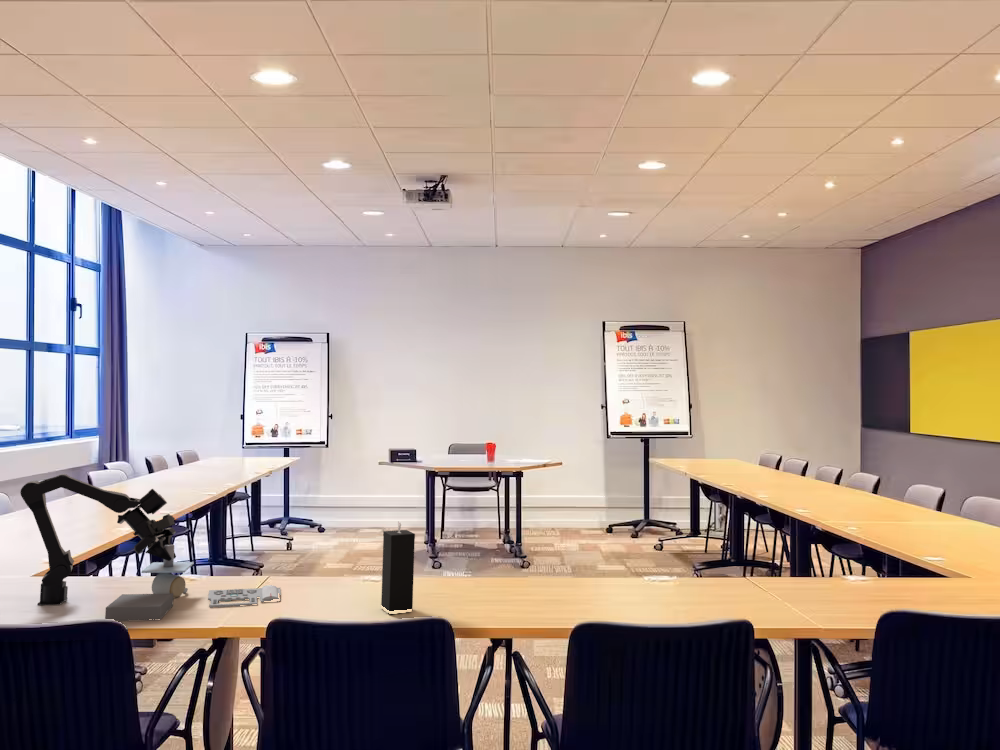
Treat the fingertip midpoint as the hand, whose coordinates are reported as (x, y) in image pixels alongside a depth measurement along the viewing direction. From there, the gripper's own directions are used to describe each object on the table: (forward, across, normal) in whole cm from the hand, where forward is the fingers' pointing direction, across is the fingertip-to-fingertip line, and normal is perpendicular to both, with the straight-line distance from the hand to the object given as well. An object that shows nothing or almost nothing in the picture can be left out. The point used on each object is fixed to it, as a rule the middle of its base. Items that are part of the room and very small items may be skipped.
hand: (172, 558), depth 243 cm
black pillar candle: (+62, -10, -45) cm, 77 cm away
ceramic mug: (+9, +2, +10) cm, 13 cm away
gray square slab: (+8, -19, +10) cm, 23 cm away
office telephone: (+26, +1, -8) cm, 27 cm away
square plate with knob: (+1, 0, +3) cm, 3 cm away
